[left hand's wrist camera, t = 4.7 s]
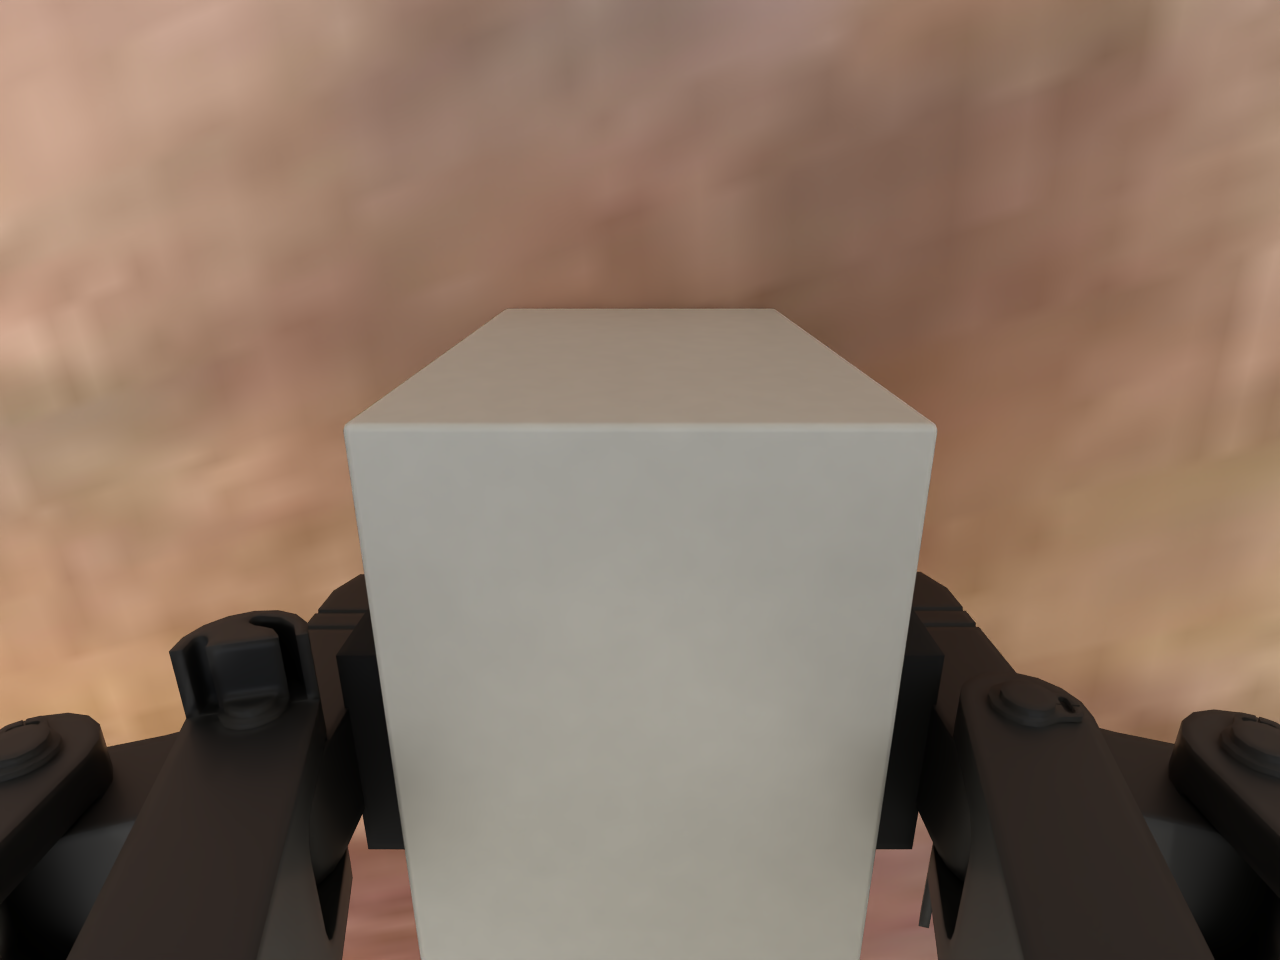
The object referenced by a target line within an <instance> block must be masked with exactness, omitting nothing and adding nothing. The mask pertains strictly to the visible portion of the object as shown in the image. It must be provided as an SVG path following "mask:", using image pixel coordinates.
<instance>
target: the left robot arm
mask: <svg viewBox="0 0 1280 960" xmlns="http://www.w3.org/2000/svg"><path fill="white" fill-rule="evenodd" d="M169 654H170V657H171V661H172V665H173V669H174V673H175V677H176V680H177V684H178V688H179V692H180V696H181V699H182V703H183V707H184V711H185V715H186V720H185V722H184V724H183V726H182V728H181V730H180V732H177V733H173V734H169V735H165V736H160V737H155V738H150V739H145V740H140V741H135V742H130V743H125V744H120V745H115V746H110V747H107V746H106V743H105V740H104V737H103V733H102V730H101V727H100V724H99V723H97V722H96V721H95V720H94V719H92V718H91V717H90V716H87V715H80V714H73V713H63V714H54V715H46V716H38V717H33V718H29V719H26V721H23V720H21V721H18V722H15V723H12V724H9V725H7V726H5V727H3V728H2V729H0V960H342V956H343V948H344V940H345V933H346V925H347V917H348V909H349V902H350V894H351V886H352V878H353V877H352V870H351V862H350V857H349V851H348V844H349V842H350V840H351V838H352V835H353V833H354V831H355V829H356V827H357V825H358V822H359V820H360V818H361V816H362V814H363V819H364V825H365V831H366V837H367V843H368V849H405V847H404V840H403V834H402V827H401V820H400V813H399V806H398V799H397V793H396V786H395V779H394V772H393V765H392V759H391V752H390V745H389V738H388V731H387V724H386V718H385V711H384V704H383V697H382V690H381V684H380V677H379V670H378V663H377V656H376V649H375V643H374V636H373V629H372V622H371V615H370V609H369V602H368V595H367V588H366V581H365V574H360V575H358V576H357V577H355V578H354V579H352V580H350V581H349V582H347V583H345V584H344V585H342V586H341V587H339V588H337V589H336V590H334V591H333V592H332V593H331V595H330V596H329V597H328V598H327V600H326V601H325V602H324V603H323V605H322V606H321V607H320V608H319V610H318V613H315V614H314V616H313V617H312V618H311V619H310V621H309V622H308V623H307V622H306V621H304V620H303V619H302V618H301V617H299V616H298V615H297V614H293V613H288V612H283V611H279V610H272V611H252V612H247V613H242V614H237V615H232V616H228V617H225V618H222V619H220V620H217V621H214V622H211V623H209V624H206V625H203V626H202V627H200V628H198V629H197V630H195V631H193V632H191V633H190V634H188V635H186V636H185V637H183V638H182V639H181V640H180V641H179V642H178V643H177V644H176V645H175V646H174V647H173V648H172V649H171V650H170V651H169ZM918 811H919V813H920V815H921V818H922V820H923V822H924V824H925V826H926V828H927V830H928V833H929V835H930V837H931V839H932V841H933V846H932V851H931V857H930V862H929V868H928V873H927V879H926V884H925V890H924V895H923V901H922V906H921V912H920V920H919V926H922V927H926V928H929V924H930V919H931V914H932V915H933V923H934V931H935V939H936V946H937V954H938V960H1280V725H1279V724H1278V723H1276V722H1274V721H1271V720H1268V719H1265V718H1262V717H1259V718H1257V717H1256V716H1255V715H1250V714H1246V713H1240V712H1230V711H1222V710H1207V711H1199V712H1193V713H1192V714H1190V715H1189V716H1188V717H1186V718H1185V719H1184V720H1183V721H1182V723H1181V726H1180V729H1179V732H1178V735H1177V739H1176V742H1175V744H1172V743H1167V742H1162V741H1157V740H1152V739H1147V738H1142V737H1137V736H1132V735H1127V734H1122V733H1117V732H1113V731H1109V730H1105V729H1101V728H1099V727H1098V725H1097V723H1096V721H1095V719H1094V717H1093V716H1092V715H1091V713H1090V712H1089V711H1088V710H1087V708H1086V707H1085V706H1084V705H1083V703H1082V702H1081V701H1079V700H1078V699H1076V698H1075V697H1073V696H1072V695H1070V694H1069V693H1068V692H1066V691H1065V690H1063V689H1062V688H1060V687H1057V686H1055V685H1053V684H1050V683H1048V682H1046V681H1043V680H1041V679H1039V678H1035V677H1031V676H1026V675H1022V674H1018V673H1016V672H1015V671H1014V669H1013V668H1012V667H1011V666H1010V665H1009V663H1008V662H1007V661H1006V660H1005V658H1004V657H1003V656H1002V655H1001V654H1000V652H999V651H998V650H997V649H996V647H995V646H994V645H993V644H992V643H991V641H990V640H989V639H988V638H987V636H986V635H985V634H984V633H983V632H982V630H981V629H980V628H979V627H976V625H975V622H974V620H973V619H972V618H971V617H970V616H969V614H968V613H967V612H966V611H963V607H962V606H961V605H960V603H959V602H958V601H957V600H956V598H955V597H954V596H953V595H952V594H951V592H950V591H949V590H948V589H947V588H946V587H944V586H943V585H941V584H939V583H938V582H936V581H935V580H933V579H931V578H930V577H928V576H926V575H925V574H923V573H921V572H916V579H915V586H914V593H913V599H912V606H911V613H910V620H909V627H908V633H907V640H906V647H905V654H904V661H903V667H902V674H901V681H900V688H899V695H898V701H897V708H896V715H895V722H894V729H893V735H892V742H891V749H890V756H889V763H888V769H887V776H886V783H885V790H884V797H883V803H882V810H881V817H880V824H879V831H878V837H877V844H876V849H912V846H913V840H914V834H915V828H916V822H917V817H918Z"/></svg>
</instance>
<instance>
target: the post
mask: <svg viewBox="0 0 1280 960" xmlns="http://www.w3.org/2000/svg"><path fill="white" fill-rule="evenodd" d="M343 431H344V438H345V445H346V452H347V458H348V465H349V472H350V479H351V486H352V493H353V499H354V506H355V513H356V520H357V527H358V533H359V540H360V547H361V554H362V561H363V568H364V574H365V581H366V588H367V595H368V602H369V609H370V615H371V622H372V629H373V636H374V643H375V649H376V656H377V663H378V670H379V677H380V684H381V690H382V697H383V704H384V711H385V718H386V724H387V731H388V738H389V745H390V752H391V759H392V765H393V772H394V779H395V786H396V793H397V799H398V806H399V813H400V820H401V827H402V834H403V840H404V847H405V854H406V861H407V868H408V874H409V881H410V888H411V895H412V902H413V909H414V915H415V922H416V929H417V936H418V943H419V949H420V956H421V960H860V953H861V946H862V939H863V933H864V926H865V919H866V912H867V905H868V899H869V892H870V885H871V878H872V871H873V865H874V858H875V851H876V844H877V837H878V831H879V824H880V817H881V810H882V803H883V797H884V790H885V783H886V776H887V769H888V763H889V756H890V749H891V742H892V735H893V729H894V722H895V715H896V708H897V701H898V695H899V688H900V681H901V674H902V667H903V661H904V654H905V647H906V640H907V633H908V627H909V620H910V613H911V606H912V599H913V593H914V586H915V579H916V572H917V565H918V559H919V552H920V545H921V538H922V531H923V525H924V518H925V511H926V504H927V497H928V491H929V484H930V477H931V470H932V463H933V457H934V450H935V443H936V436H937V428H936V424H934V423H933V422H932V421H930V420H929V419H927V418H926V417H925V416H923V415H922V414H920V413H919V412H918V411H916V410H915V409H913V408H912V407H911V406H909V405H908V404H906V403H905V402H904V401H902V400H901V399H899V398H898V397H897V396H895V395H894V394H893V393H891V392H890V391H888V390H887V389H886V388H884V387H883V386H881V385H880V384H879V383H877V382H876V381H874V380H873V379H872V378H870V377H869V376H867V375H866V374H865V373H863V372H862V371H860V370H859V369H858V368H856V367H855V366H853V365H852V364H851V363H849V362H848V361H846V360H845V359H844V358H842V357H841V356H840V355H838V354H837V353H835V352H834V351H833V350H831V349H830V348H828V347H827V346H826V345H824V344H823V343H821V342H820V341H819V340H817V339H816V338H814V337H813V336H812V335H810V334H809V333H807V332H806V331H805V330H803V329H802V328H800V327H799V326H798V325H796V324H795V323H794V322H792V321H791V320H789V319H788V318H787V317H785V316H784V315H782V314H781V313H780V312H778V311H777V310H775V309H505V310H504V311H502V312H501V313H500V314H498V315H497V316H495V317H494V318H493V319H491V320H490V321H488V322H487V323H486V324H484V325H483V326H481V327H480V328H479V329H477V330H476V331H475V332H473V333H472V334H470V335H469V336H468V337H466V338H465V339H463V340H462V341H461V342H459V343H458V344H456V345H455V346H454V347H452V348H451V349H449V350H448V351H447V352H445V353H444V354H442V355H441V356H440V357H438V358H437V359H435V360H434V361H433V362H431V363H430V364H429V365H427V366H426V367H424V368H423V369H422V370H420V371H419V372H417V373H416V374H415V375H413V376H412V377H410V378H409V379H408V380H406V381H405V382H403V383H402V384H401V385H399V386H398V387H396V388H395V389H394V390H392V391H391V392H389V393H388V394H387V395H385V396H384V397H383V398H381V399H380V400H378V401H377V402H376V403H374V404H373V405H371V406H370V407H369V408H367V409H366V410H364V411H363V412H362V413H360V414H359V415H357V416H356V417H355V418H353V419H352V420H350V421H349V422H348V423H346V424H345V427H344V430H343Z"/></svg>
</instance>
